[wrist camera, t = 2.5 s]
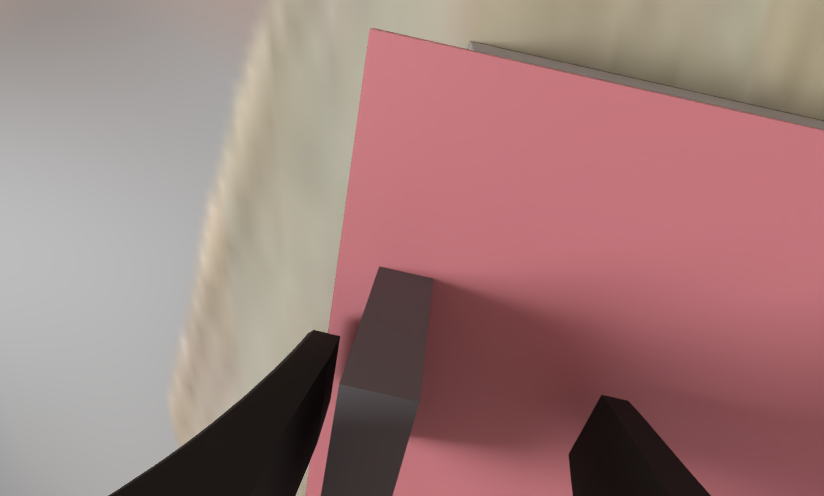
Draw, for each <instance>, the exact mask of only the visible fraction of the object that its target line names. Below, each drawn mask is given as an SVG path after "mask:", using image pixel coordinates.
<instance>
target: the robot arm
mask: <svg viewBox="0 0 824 496" xmlns="http://www.w3.org/2000/svg"><path fill="white" fill-rule="evenodd" d="M339 342H340V336H338V335H333V334H329V333H324V332H320V331H315V330H313V331H311V332H310V333H308V334H307V335H306V336H305V338H304V339H303V340H302V341H301V342H300V343H299V344H298V345H297V346H296V348H295V349H294V350H293V351H292V352H291V353H290V354H289V355H288V356H287V357H286V358H285V359H284V360H283V361H282V362H281V363H280V364H279V365H278V366H277V367H276V368H275V369H274V370H273V371H272V372H271V373H269V374H268V375H267V376H266V377H265V378H264V379H263V380H262V381H261V382H260V383H259V384H258V385H256V386H255V387H254V388H253V389H252V390H251V391H250V392H249V393H248V394H247V395H245V396H244V397H243V398H242V399H241V400H240V401H238V402H237V403H236V404H235V405H233V406H232V407H231V408H230V409H229V410H227V411H226V412H225V413H224V414H223V415H221V416H220V417H219V418H218V419H217V420H215V421H214V422H213V423H212V424H210V425H209V426H208V427H207V428H205V429H204V430H203V431H201V432H200V433H199V434H198V435H196V436H195V437H194V438H192V439H191V440H190V441H188V442H187V443H186V444H184V445H183V446H182V447H180V448H179V449H177V450H176V451H175V452H173V453H172V454H170V455H169V456H168V457H166V458H165V459H163V460H162V461H160V462H159V463H158V464H156V465H155V466H154V467H152V468H150V469H149V470H147V471H146V472H144V473H143V474H141V475H140V476H138V477H136V478H135V479H133V480H132V481H131V482H129V483H127V484H126V485H124V486H123V487H121V488H120V489H118V490H117V491H115V492H114V493H112V494H110V495H109V496H295V495H296V493H297V490H298V488H299V486H300V483H301V481H302V479H303V476H304V474H305V471H306V469H307V467H308V464H309V462H310V460H311V457H312V455H313V452H314V450H315V448H316V445H317V442H318V439H319V436H320V433H321V430H322V427H323V423H324V420H325V417H326V414H327V410H328V407H329V404H330V400H331V393H332V387H333V381H334V374H335V368H336V361H337V355H338V348H339ZM568 455H569V465H570V476H571V485H572V492H573V496H711V495H710V494H709V493H708V492H707V491H706V490H705V488H704V487H703V486H702V485H701V484H700V483H699V482H698V480H697V479H696V478H695V477H694V476H693V475H692V473H691V472H690V471H689V470H688V469H687V468H686V467H685V465H684V464H683V463H682V462H681V461H680V460H679V458H678V457H677V456H676V455H675V454H674V452H673V451H672V450H671V449H670V448H669V447H668V445H667V444H666V443H665V442H664V441H663V440H662V438H661V437H660V436H659V435H658V434H657V433H656V431H655V430H654V429H653V428H652V427H651V426H650V424H649V423H648V422H647V421H646V420H645V419H644V417H643V416H642V415H641V414H640V413H639V412H638V411H637V410H636V408H635V407H634V406H633V405H632V404H631V403H630V402H629V401H627V400H623V399H618V398H614V397H609V396H605V395H601V397H600V398H599V400H598V402H597V404H596V406H595V407H594V409H593V411H592V413H591V415H590V416H589V418H588V420H587V422H586V424H585V425H584V427H583V429H582V431H581V433H580V434H579V436H578V438H577V440H576V442H575V443H574V445H573V447H572V449H571V451H570V452H569V454H568Z"/></svg>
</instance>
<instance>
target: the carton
mask: <svg viewBox="0 0 824 496" xmlns="http://www.w3.org/2000/svg"><path fill="white" fill-rule="evenodd" d="M468 49H469V50H473V51H477V52H482V53H486V54H491V55H495V56H500V57H504V58H509V59H513V60H517V61H522V62H526V63H531V64H535V65H540V66H544V67H548V68H553V69H557V70H562V71H566V72H571V73H575V74H579V75H584V76H588V77H593V78H597V79H602V80H606V81H611V82H615V83H619V84H624V85H628V86H633V87H637V88H642V89H646V90H650V91H655V92H659V93H664V94H668V95H673V96H677V97H681V98H686V99H690V100H695V101H699V102H704V103H708V104H713V105H717V106H721V107H726V108H730V109H735V110H739V111H744V112H748V113H752V114H757V115H761V116H766V117H770V118H775V119H779V120H783V121H788V122H792V123H797V124H801V125H806V126H810V127H815V128H819V129H823V130H824V121H822V120H818V119H813V118H809V117H804V116H800V115H796V114H791V113H787V112H782V111H778V110H773V109H769V108H765V107H760V106H756V105H751V104H747V103H742V102H738V101H734V100H729V99H725V98H720V97H716V96H711V95H707V94H702V93H698V92H694V91H689V90H685V89H680V88H676V87H671V86H667V85H663V84H658V83H654V82H649V81H645V80H640V79H636V78H632V77H627V76H623V75H618V74H614V73H609V72H605V71H600V70H596V69H592V68H587V67H583V66H578V65H574V64H569V63H565V62H561V61H556V60H552V59H547V58H543V57H538V56H534V55H530V54H525V53H521V52H516V51H512V50H507V49H503V48H498V47H494V46H490V45H485V44H481V43H476V42H472V41H470V43H469V47H468Z"/></svg>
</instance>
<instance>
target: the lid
mask: <svg viewBox="0 0 824 496" xmlns="http://www.w3.org/2000/svg"><path fill="white" fill-rule="evenodd" d="M328 333H329V334H333V335H338V336H340V342H339V348H338V355H337V361H336V368H335V374H334V381H333V387H332V393H331V400H330V404H329V407H328V410H327V414H326V417H325V420H324V423H323V427H322V430H321V433H320V436H319V439H318V442H317V445H316V448H315V450H314V452H313V455H312V457H311V460H310V467H309V475H308V482H307V489H306V496H573V492H572V485H571V476H570V465H569V455H568V454H569V452H570V451H571V449H572V447H573V445H574V443H575V442H576V440H577V438H578V436H579V434H580V433H581V431H582V429H583V427H584V425H585V424H586V422H587V420H588V418H589V416H590V415H591V413H592V411H593V409H594V407H595V406H596V404H597V402H598V400H599V398H600V397H601V395H605V396H609V397H614V398H618V399H623V400H627V401H629V402H630V403H631V404H632V405H633V406H634V407H635V408H636V410H637V411H638V412H639V413H640V414H641V415H642V416H643V417H644V419H645V420H646V421H647V422H648V423H649V424H650V426H651V427H652V428H653V429H654V430H655V431H656V433H657V434H658V435H659V436H660V437H661V438H662V440H663V441H664V442H665V443H666V444H667V445H668V447H669V448H670V449H671V450H672V451H673V452H674V454H675V455H676V456H677V457H678V458H679V460H680V461H681V462H682V463H683V464H684V465H685V467H686V468H687V469H688V470H689V471H690V472H691V473H692V475H693V476H694V477H695V478H696V479H697V480H698V482H699V483H700V484H701V485H702V486H703V487H704V488H705V490H706V491H707V492H708V493H709V494H710V495H711V496H824V130H823V129H819V128H815V127H810V126H806V125H801V124H797V123H792V122H788V121H783V120H779V119H775V118H770V117H766V116H761V115H757V114H752V113H748V112H744V111H739V110H735V109H730V108H726V107H721V106H717V105H713V104H708V103H704V102H699V101H695V100H690V99H686V98H681V97H677V96H673V95H668V94H664V93H659V92H655V91H650V90H646V89H642V88H637V87H633V86H628V85H624V84H619V83H615V82H611V81H606V80H602V79H597V78H593V77H588V76H584V75H579V74H575V73H571V72H566V71H562V70H557V69H553V68H548V67H544V66H540V65H535V64H531V63H526V62H522V61H517V60H513V59H509V58H504V57H500V56H495V55H491V54H486V53H482V52H477V51H473V50H469V49H464V48H460V47H455V46H451V45H446V44H442V43H438V42H433V41H429V40H424V39H420V38H415V37H411V36H406V35H402V34H398V33H393V32H389V31H384V30H380V29H375V28H374V29H370V32H369V39H368V46H367V53H366V61H365V68H364V75H363V82H362V90H361V97H360V104H359V112H358V119H357V126H356V133H355V141H354V148H353V155H352V162H351V170H350V177H349V184H348V191H347V199H346V206H345V213H344V220H343V228H342V235H341V242H340V249H339V257H338V264H337V271H336V279H335V286H334V293H333V300H332V308H331V315H330V322H329V329H328Z"/></svg>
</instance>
